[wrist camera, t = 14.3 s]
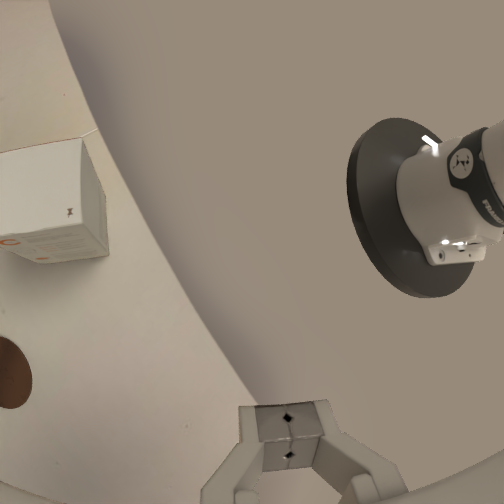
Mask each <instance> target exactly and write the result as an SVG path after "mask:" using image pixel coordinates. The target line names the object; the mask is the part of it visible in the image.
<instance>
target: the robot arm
mask: <svg viewBox="0 0 504 504" xmlns="http://www.w3.org/2000/svg"><path fill="white" fill-rule="evenodd" d="M422 139H423V140H424V141H426V142H427V143H429V144H430V145H431V146H433V147H430V146H429V145H424V146H421V147H420V148H419V150H418V152H417V154H416V155H414V156H412V157H409V158H407V159H406V160H404V161H403V163H402V164H401V166H400V168H399V170H398V174H397V180H396V190H397V198H398V203H399V207H400V210H401V213H402V215H403V218H404V220H405V222H406V224H407V226H408V228H409V229H410V231H411V233H412V234H413V235H414V237H415V238H416V239H417V240H418V242H419V243H420V244H421V246H422V249H423V251H424V254H425V256H426V259H427V261H428V263H429V264H430V265H432V266H438V265H449V264H461V263H471V262H479V261H482V260H483V259H484V257H485V252H486V247H487V246H488V245H492V244H495V243H498V242H499V241H500V240H501V238H502V235H503V234H504V120H503V121H501V122H499V123H497V124H496V125H494V126H492V127H490V128H487V127H483V128H481V129H479V130H475V131H473V132H471V134H469V135H467V136H465V137H463V138H462V137H461V136H458V137H455V138H452V139H450V140H447V141H445V142H442V143H440V144H436V143H435V142H434V141H432V140H431V139H430V138H428V137H427V136H424V137H422ZM307 467H312V469H313V470H314V471H316V472H317V473H318V474H319V475H320V476H321V477H322V478H323V479H324V480H325V481H326V482H327V483H329V484H330V485H331V486H332V487H333V488H334V489H335V490H336V491H337V492H339V493H340V494H341V495H342V498H341V500H340V501H339V503H338V504H504V449H503V450H501V451H500V452H498V453H496V454H494V455H493V456H491V457H489V458H487V459H485V460H483V461H481V462H479V463H477V464H475V465H473V466H471V467H469V468H467V469H465V470H463V471H461V472H459V473H456V474H454V475H452V476H449V477H447V478H445V479H442V480H440V481H438V482H435V483H433V484H430V485H427V486H425V487H422V488H419V489H416V490H414V491H411V492H409V491H408V489H407V487H406V485H405V483H404V481H403V478H402V476H401V474H400V472H399V470H398V468H397V466H396V464H394V463H392V462H391V461H389V460H387V459H386V458H384V457H382V456H381V455H379V454H378V453H376V452H375V451H373V450H371V449H370V448H368V447H367V446H365V445H363V444H362V443H360V442H359V441H357V440H356V439H354V438H353V437H351V436H349V435H348V434H347V433H341V432H340V429H339V427H338V424H337V421H336V419H335V416H334V414H333V411H332V409H331V406H330V404H329V401H328V400H327V399H326V400H318V401H309V402H300V403H291V404H281V405H256V406H239V443H237V444H236V445H235V447H234V448H233V449H232V451H231V452H230V453H229V455H228V456H227V457H226V459H225V460H224V461H223V462H222V464H221V465H220V466H219V468H218V469H217V470H216V471H215V473H214V474H213V475H212V476H211V478H210V479H209V480H208V481H207V483H206V484H205V485H204V486H203V488H202V489H201V503H200V504H260V502H259V495H258V493H257V492H256V491H254V490H253V488H254V487H255V485H256V483H257V481H258V480H259V478H260V476H261V475H262V472H268V471H278V470H286V469H297V468H307ZM0 504H65V503H61V502H58V501H54V500H51V499H48V498H45V497H42V496H39V495H36V494H33V493H30V492H27V491H24V490H22V489H19V488H17V487H14V486H11V485H9V484H7V483H4V482H2V481H0Z"/></svg>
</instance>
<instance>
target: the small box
mask: <svg viewBox="0 0 504 504" xmlns="http://www.w3.org/2000/svg"><path fill="white" fill-rule="evenodd" d="M0 247H1V248H3V249H6V250H8V251H10V252H12V253H15V254H17V255H20V256H22V257H24V258H27V259H29V260H32V261H34V262H36V263H39V264H45V263H54V262H62V261H70V260H78V259H86V258H94V257H101V256H108V255H109V247H108V234H107V216H106V196H105V194H104V191H103V189H102V186H101V184H100V181H99V179H98V177H97V174H96V172H95V170H94V167H93V164H92V162H91V159H90V157H89V154H88V152H87V149H86V147H85V144H84V141H83V139H82V138H74V139H68V140H62V141H56V142H50V143H45V144H40V145H34V146H29V147H24V148H19V149H15V150H11V151H6V152H2V153H0Z"/></svg>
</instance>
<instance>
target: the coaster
mask: <svg viewBox="0 0 504 504" xmlns="http://www.w3.org/2000/svg"><path fill="white" fill-rule="evenodd" d="M31 389H32V375H31V370H30V367H29V364H28V362H27V359H26V358H25V356H24V354H23V353H22V351H21V350H20V349H19V348H18V347H17V346H16V345H15V344H14V343H13V342H12V341H10V340H8V339H7V338H4V337H1V336H0V407H3V408H8V409H13V408H17V407H19V406H21V405H22V404H24V403H25V402H26V400H27V399H28V397H29V395H30V393H31Z"/></svg>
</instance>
